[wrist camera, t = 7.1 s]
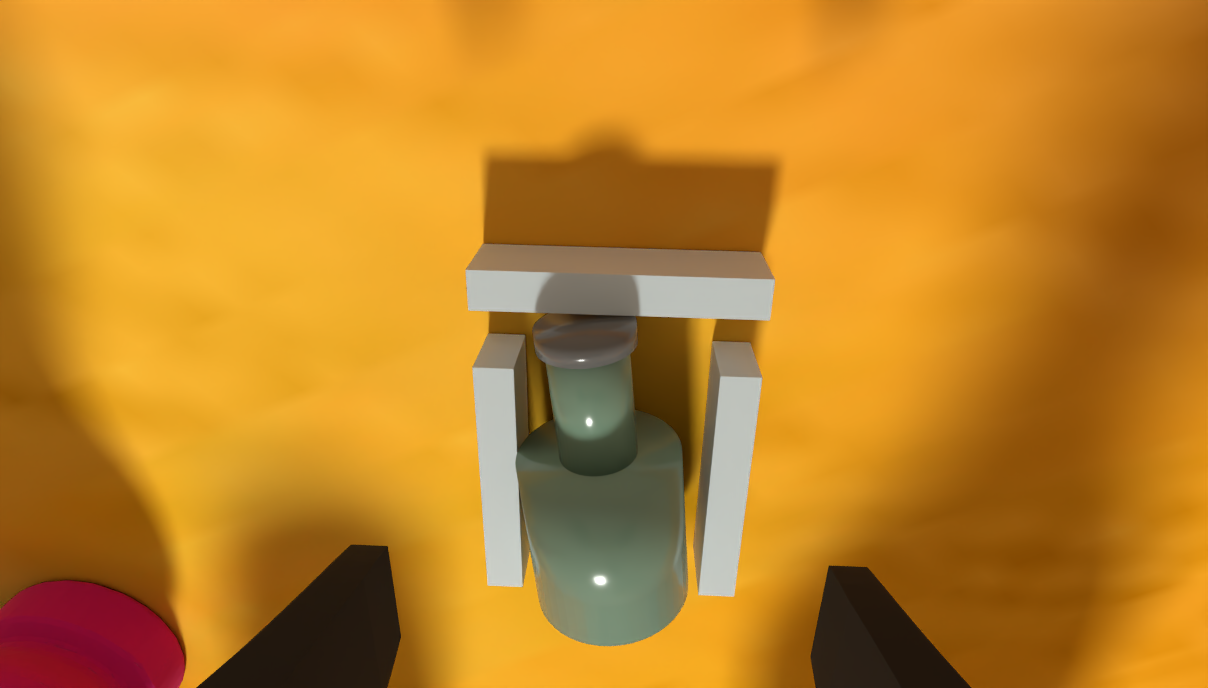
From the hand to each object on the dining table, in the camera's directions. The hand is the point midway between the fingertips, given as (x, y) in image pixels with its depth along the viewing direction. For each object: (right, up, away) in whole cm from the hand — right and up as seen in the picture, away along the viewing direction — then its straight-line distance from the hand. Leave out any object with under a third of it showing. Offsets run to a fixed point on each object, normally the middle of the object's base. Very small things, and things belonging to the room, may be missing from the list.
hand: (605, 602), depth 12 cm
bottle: (0, -2, +8) cm, 8 cm away
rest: (0, +2, +8) cm, 9 cm away
